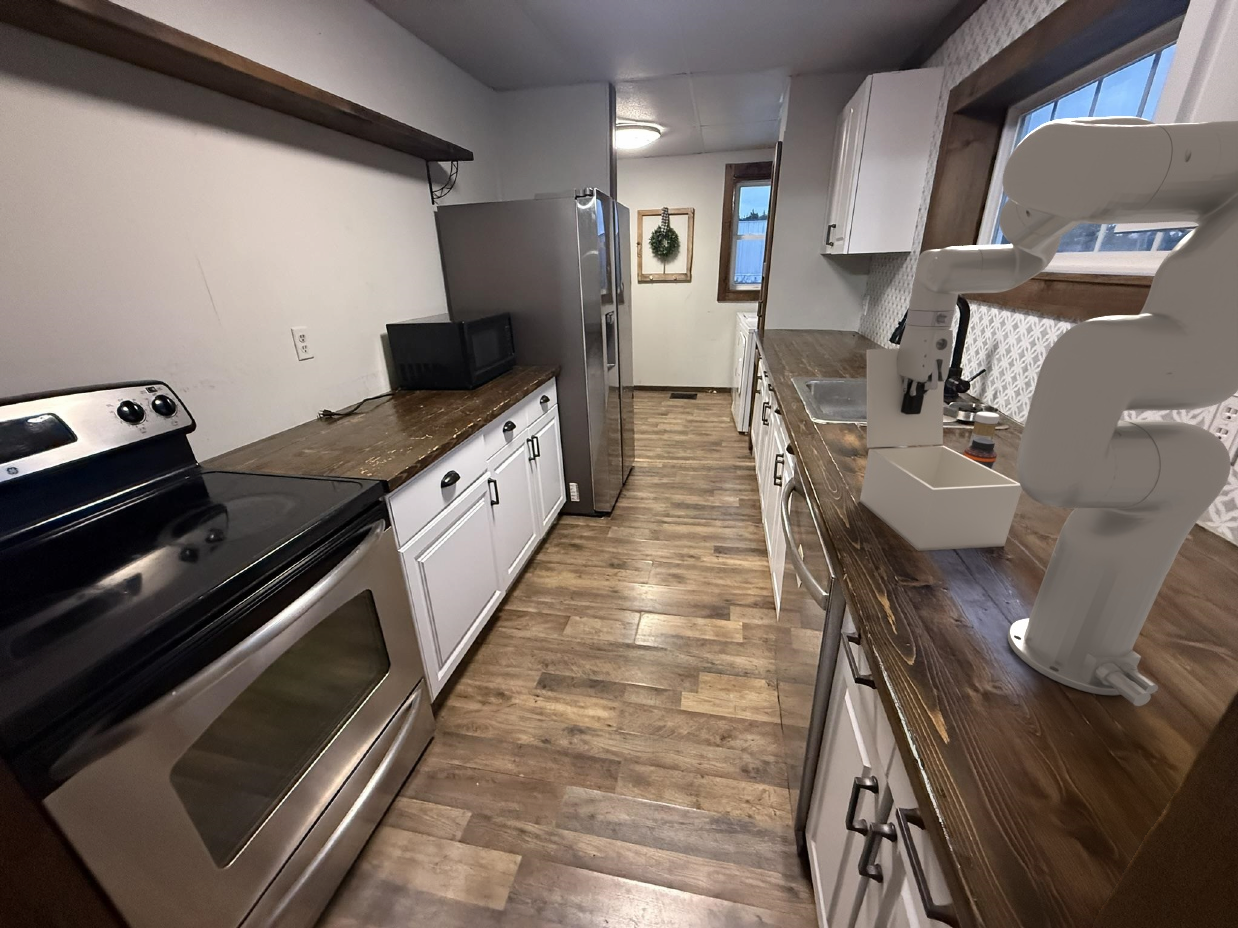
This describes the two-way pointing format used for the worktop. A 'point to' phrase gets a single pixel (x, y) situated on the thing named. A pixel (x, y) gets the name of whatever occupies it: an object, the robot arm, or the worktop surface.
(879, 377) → the lid flap
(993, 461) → the supplement bottle
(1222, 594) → the worktop surface
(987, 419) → the sprinkles bottle
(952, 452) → the carton
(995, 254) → the robot arm
